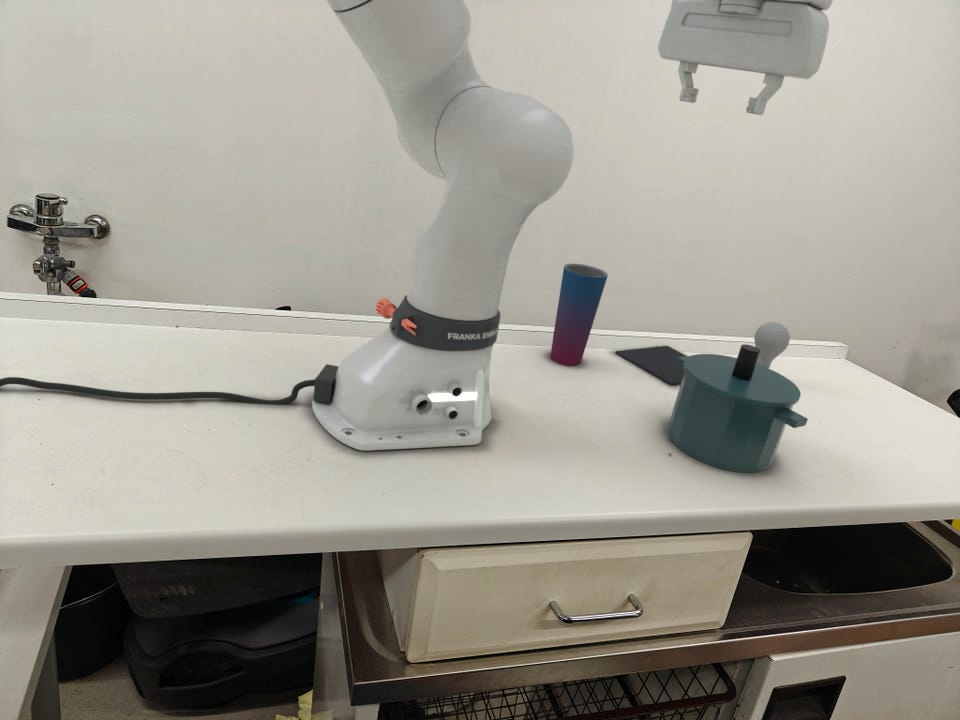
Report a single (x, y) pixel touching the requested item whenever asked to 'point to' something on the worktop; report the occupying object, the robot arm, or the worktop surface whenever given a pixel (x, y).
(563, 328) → the cup
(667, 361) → the plate
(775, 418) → the pot
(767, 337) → the light bulb
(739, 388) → the lid
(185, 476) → the worktop surface
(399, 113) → the robot arm
